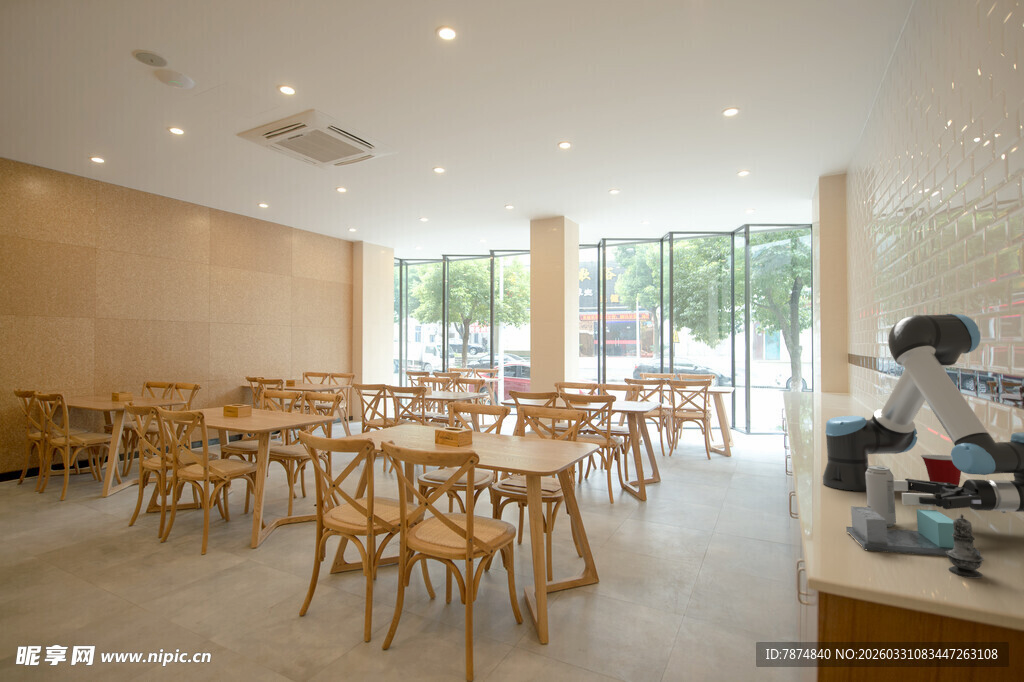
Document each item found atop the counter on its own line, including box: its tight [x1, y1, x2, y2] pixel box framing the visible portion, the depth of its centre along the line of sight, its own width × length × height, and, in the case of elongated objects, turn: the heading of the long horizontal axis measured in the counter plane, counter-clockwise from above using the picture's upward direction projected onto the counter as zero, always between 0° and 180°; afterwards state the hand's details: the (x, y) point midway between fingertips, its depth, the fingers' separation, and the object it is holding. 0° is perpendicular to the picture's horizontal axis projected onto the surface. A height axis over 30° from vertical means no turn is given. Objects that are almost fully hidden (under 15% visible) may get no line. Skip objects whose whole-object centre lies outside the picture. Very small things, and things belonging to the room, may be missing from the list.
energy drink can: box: [865, 465, 897, 528], centre depth 133 cm, size 6×6×15 cm
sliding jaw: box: [916, 508, 955, 548], centre depth 117 cm, size 10×4×6 cm, turn 163°
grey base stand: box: [845, 505, 981, 557], centre depth 119 cm, size 12×22×7 cm, turn 73°
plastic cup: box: [920, 454, 962, 487], centre depth 159 cm, size 11×11×12 cm
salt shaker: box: [946, 513, 985, 579], centre depth 103 cm, size 6×6×12 cm
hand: (890, 491), depth 132 cm, fingers open, 13 cm apart
